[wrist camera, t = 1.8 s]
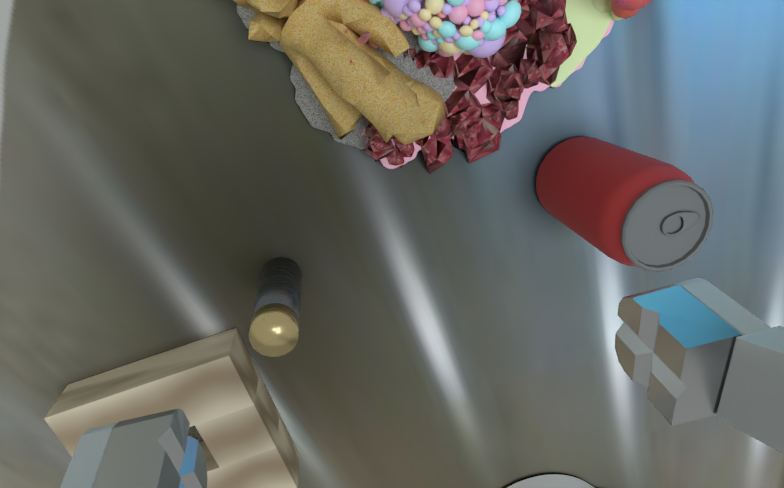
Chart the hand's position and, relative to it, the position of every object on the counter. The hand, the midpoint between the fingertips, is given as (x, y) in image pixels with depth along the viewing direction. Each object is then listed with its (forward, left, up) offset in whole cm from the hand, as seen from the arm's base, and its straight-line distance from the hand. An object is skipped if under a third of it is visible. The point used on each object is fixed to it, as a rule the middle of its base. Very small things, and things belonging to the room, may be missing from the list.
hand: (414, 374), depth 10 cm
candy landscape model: (+7, -9, -30) cm, 32 cm away
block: (-19, +20, -30) cm, 41 cm away
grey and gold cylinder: (-9, +8, -30) cm, 32 cm away
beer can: (-9, -16, -30) cm, 35 cm away
